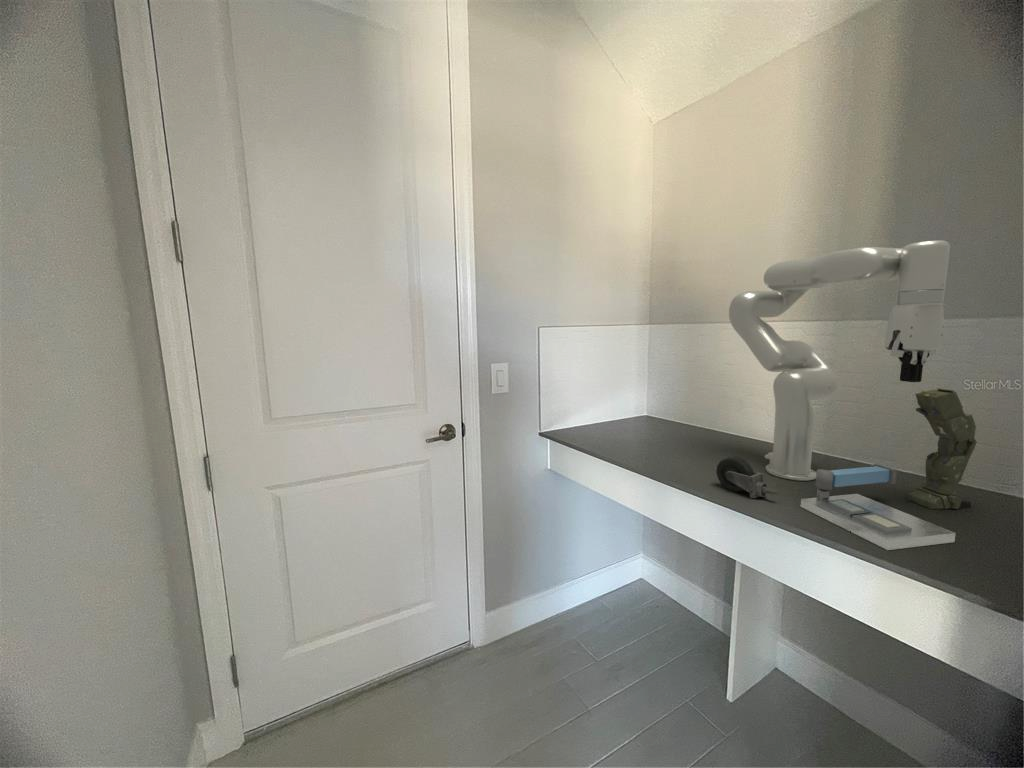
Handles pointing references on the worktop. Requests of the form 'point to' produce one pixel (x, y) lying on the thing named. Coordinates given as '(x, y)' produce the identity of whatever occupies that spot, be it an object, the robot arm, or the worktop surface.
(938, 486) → the mechanical leg
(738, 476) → the caster wheel
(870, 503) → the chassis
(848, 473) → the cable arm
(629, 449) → the worktop surface
